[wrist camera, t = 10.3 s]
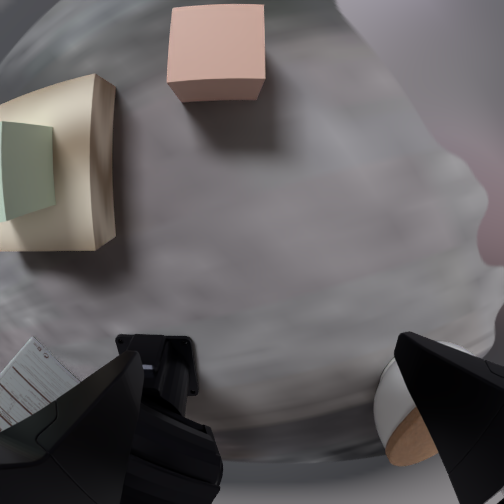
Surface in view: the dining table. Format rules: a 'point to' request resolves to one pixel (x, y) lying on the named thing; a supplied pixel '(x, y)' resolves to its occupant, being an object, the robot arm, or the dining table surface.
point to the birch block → (69, 167)
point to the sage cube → (25, 169)
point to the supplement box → (31, 383)
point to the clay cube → (217, 52)
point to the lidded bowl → (402, 418)
